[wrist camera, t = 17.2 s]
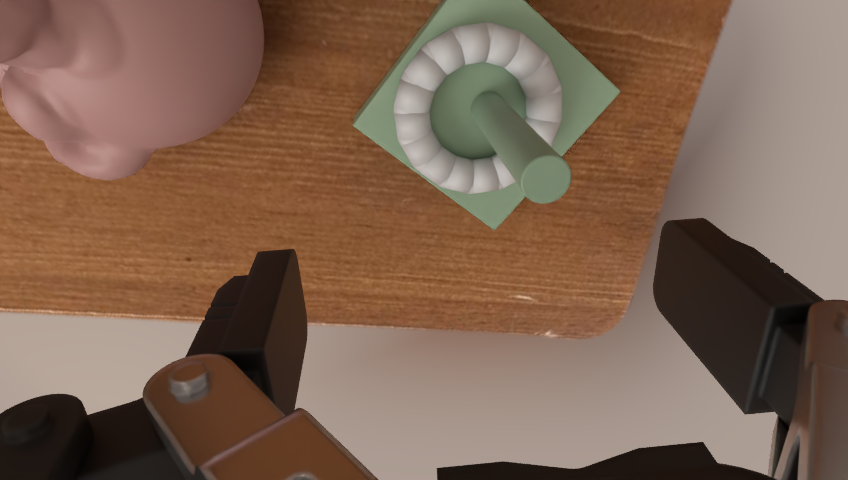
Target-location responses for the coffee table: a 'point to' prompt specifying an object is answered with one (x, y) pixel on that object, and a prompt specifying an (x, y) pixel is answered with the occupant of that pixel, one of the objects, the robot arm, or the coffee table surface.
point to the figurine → (126, 74)
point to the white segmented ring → (444, 59)
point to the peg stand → (495, 108)
